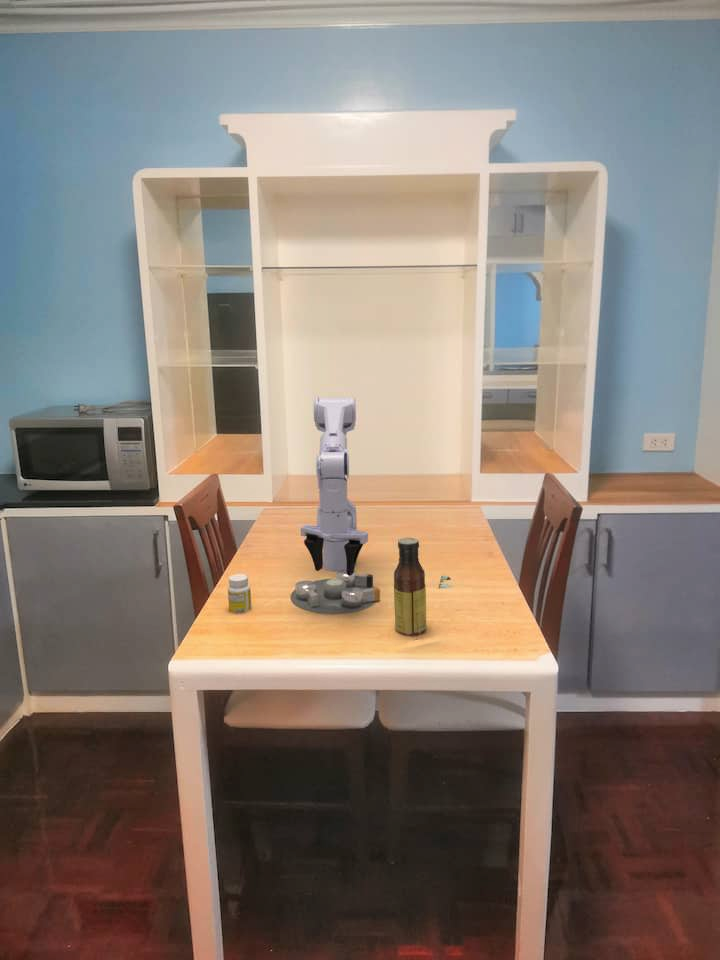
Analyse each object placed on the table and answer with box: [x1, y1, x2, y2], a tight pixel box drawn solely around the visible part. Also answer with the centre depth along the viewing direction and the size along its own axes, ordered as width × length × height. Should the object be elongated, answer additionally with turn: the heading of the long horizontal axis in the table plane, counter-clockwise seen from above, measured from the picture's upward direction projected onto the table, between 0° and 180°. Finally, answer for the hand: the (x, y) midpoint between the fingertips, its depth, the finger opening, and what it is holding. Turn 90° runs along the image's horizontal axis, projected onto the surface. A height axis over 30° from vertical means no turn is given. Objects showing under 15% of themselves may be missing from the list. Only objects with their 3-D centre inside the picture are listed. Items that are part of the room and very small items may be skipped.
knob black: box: [336, 569, 374, 588], centre depth 153 cm, size 8×5×3 cm, turn 78°
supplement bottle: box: [227, 573, 252, 614], centre depth 141 cm, size 5×5×8 cm
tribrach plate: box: [290, 578, 378, 615], centre depth 148 cm, size 20×20×5 cm
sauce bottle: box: [393, 537, 427, 641], centre depth 129 cm, size 7×6×20 cm
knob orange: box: [342, 586, 381, 608], centre depth 143 cm, size 8×5×3 cm, turn 113°
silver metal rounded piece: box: [294, 580, 318, 607], centre depth 145 cm, size 8×5×3 cm, turn 23°
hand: (334, 571), depth 138 cm, fingers open, 7 cm apart
